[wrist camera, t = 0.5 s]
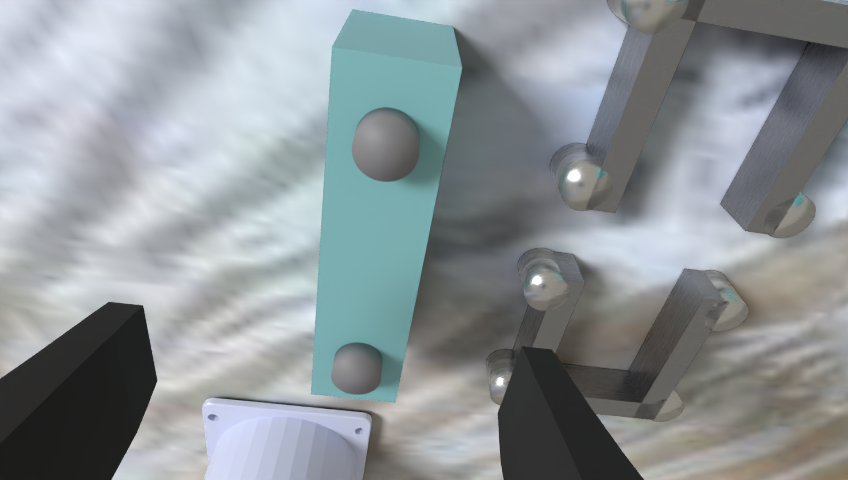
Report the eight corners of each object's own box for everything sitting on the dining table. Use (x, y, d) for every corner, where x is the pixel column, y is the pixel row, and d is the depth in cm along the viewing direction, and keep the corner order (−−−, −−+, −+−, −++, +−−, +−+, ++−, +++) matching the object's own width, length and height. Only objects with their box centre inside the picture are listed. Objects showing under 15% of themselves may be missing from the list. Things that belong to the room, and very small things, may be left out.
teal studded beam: (399, 317, 22) (394, 421, 18) (329, 308, 22) (306, 413, 18) (452, 25, 16) (464, 78, 11) (353, 8, 16) (326, 56, 11)
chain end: (659, 391, 25) (674, 423, 23) (482, 372, 24) (486, 404, 23) (732, 272, 21) (756, 302, 19) (523, 245, 20) (531, 274, 19)
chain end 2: (769, 213, 19) (798, 241, 18) (544, 181, 19) (555, 207, 17) (898, 6, 15) (948, 19, 14) (618, -46, 15) (641, -38, 13)
